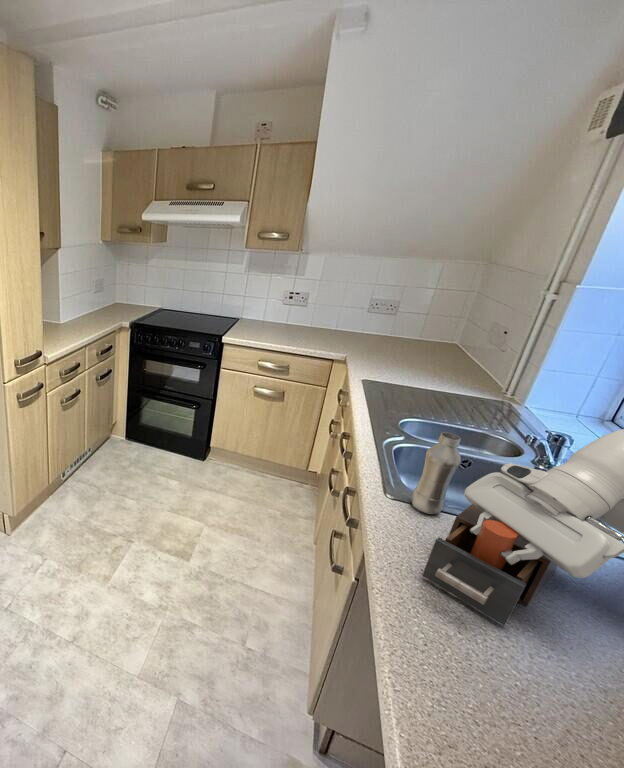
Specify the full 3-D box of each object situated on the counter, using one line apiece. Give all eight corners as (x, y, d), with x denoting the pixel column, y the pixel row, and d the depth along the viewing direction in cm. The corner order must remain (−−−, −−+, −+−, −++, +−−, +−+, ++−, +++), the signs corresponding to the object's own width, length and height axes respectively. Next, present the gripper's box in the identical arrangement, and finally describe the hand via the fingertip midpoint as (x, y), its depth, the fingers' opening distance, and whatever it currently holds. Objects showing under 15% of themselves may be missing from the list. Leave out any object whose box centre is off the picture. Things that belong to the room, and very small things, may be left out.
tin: (503, 571, 75) (522, 531, 72) (493, 581, 72) (512, 541, 69) (472, 555, 78) (489, 516, 75) (462, 564, 76) (478, 525, 73)
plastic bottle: (439, 506, 101) (466, 434, 94) (442, 521, 96) (471, 446, 88) (407, 497, 104) (431, 426, 97) (409, 511, 99) (434, 438, 91)
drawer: (493, 639, 67) (513, 599, 64) (409, 586, 77) (423, 549, 74) (534, 587, 77) (554, 550, 74) (456, 546, 87) (470, 512, 84)
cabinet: (526, 607, 74) (550, 561, 70) (439, 558, 85) (456, 516, 81) (555, 570, 82) (578, 527, 79) (472, 529, 93) (489, 490, 89)
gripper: (644, 554, 62) (557, 605, 65) (512, 477, 81) (450, 519, 84) (631, 532, 60) (542, 585, 63) (499, 458, 79) (436, 501, 82)
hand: (488, 546), depth 74 cm, fingers closed on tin, 5 cm apart
